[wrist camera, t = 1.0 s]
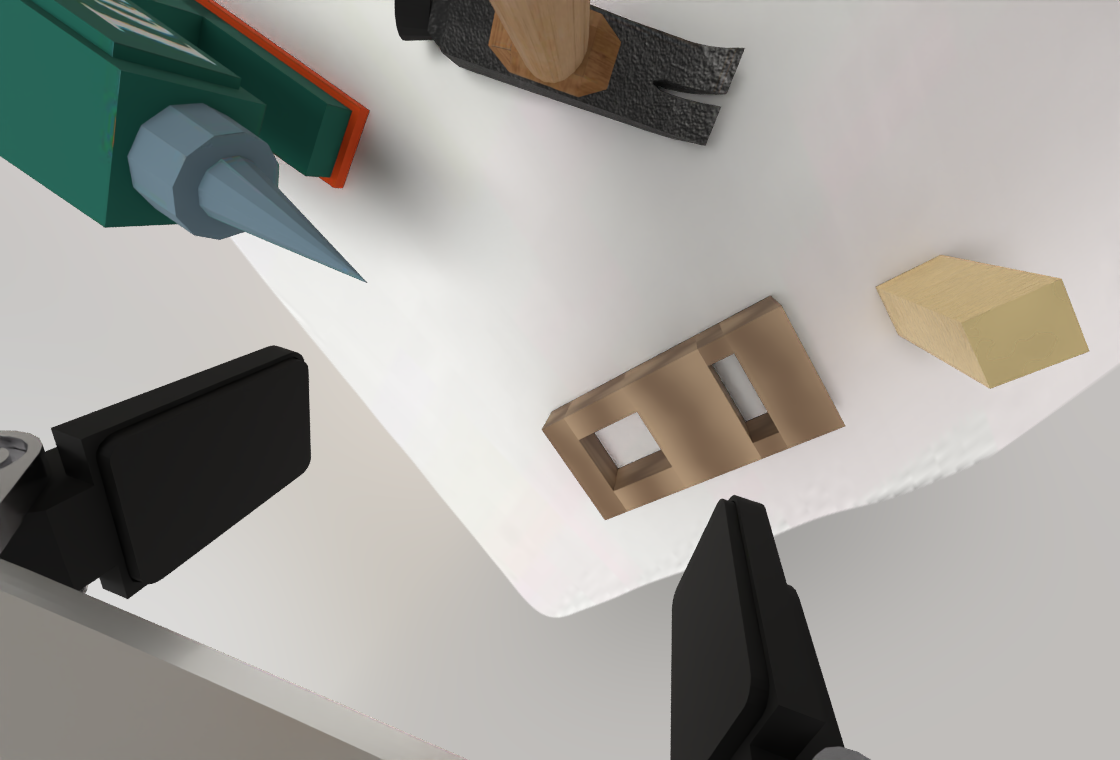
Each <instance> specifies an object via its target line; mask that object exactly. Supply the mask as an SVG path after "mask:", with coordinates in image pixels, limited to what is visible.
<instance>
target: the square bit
mask: <svg viewBox="0 0 1120 760" xmlns="http://www.w3.org/2000/svg"><path fill="white" fill-rule="evenodd" d="M876 289H877V291H878V293H879V295H880V297H881V299H882V301H883V304H884V306H885V308H886V310H887V312H888V314H889V316H890V318H891V320H892V322H893V324H894V327H895V329H896V331H897V333H898V335H899V336H901V337H903V338H904V339H906V340H908V341H910V342H911V343H913V344H915V345H916V346H918V347H920V348H921V349H923V350H925V351H927V352H928V353H930V354H932V355H933V356H935V357H937V358H939V359H940V360H942V361H944V362H945V363H947V364H949V365H951V366H952V367H954V368H956V369H957V370H959V371H961V372H962V373H964V374H966V375H968V376H969V377H971V378H973V379H974V380H976V381H978V382H980V383H981V384H983V385H985V386H986V387H988V388H990V389H991V388H993V387H996V386H999V385H1001V384H1004V383H1007V382H1009V381H1012V380H1015V379H1017V378H1020V377H1023V376H1025V375H1028V374H1031V373H1033V372H1036V371H1038V370H1041V369H1044V368H1046V367H1049V366H1052V365H1054V364H1057V363H1060V362H1062V361H1065V360H1068V359H1070V358H1073V357H1076V356H1078V355H1081V354H1083V353H1086V352H1089V349H1088V346H1087V344H1086V341H1085V338H1084V336H1083V333H1082V331H1081V328H1080V325H1079V323H1078V320H1077V318H1076V315H1075V312H1074V310H1073V307H1072V305H1071V302H1070V299H1069V297H1068V294H1067V292H1066V289H1065V286H1064V284H1063V281H1062V279H1060V278H1055V277H1050V276H1045V275H1040V274H1035V273H1030V272H1025V271H1020V270H1015V269H1010V268H1005V267H1000V266H995V265H990V264H985V263H980V262H975V261H970V260H965V259H959V258H954V257H949V256H944V255H939V256H937V257H935V258H933V259H931V260H929V261H927V262H925V263H923V264H921V265H919V266H917V267H915V268H913V269H911V270H909V271H907V272H905V273H903V274H901V275H899V276H897V277H895V278H893V279H891V280H889V281H887V282H885V283H883V284H881V285H879V286H877V287H876Z"/></svg>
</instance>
